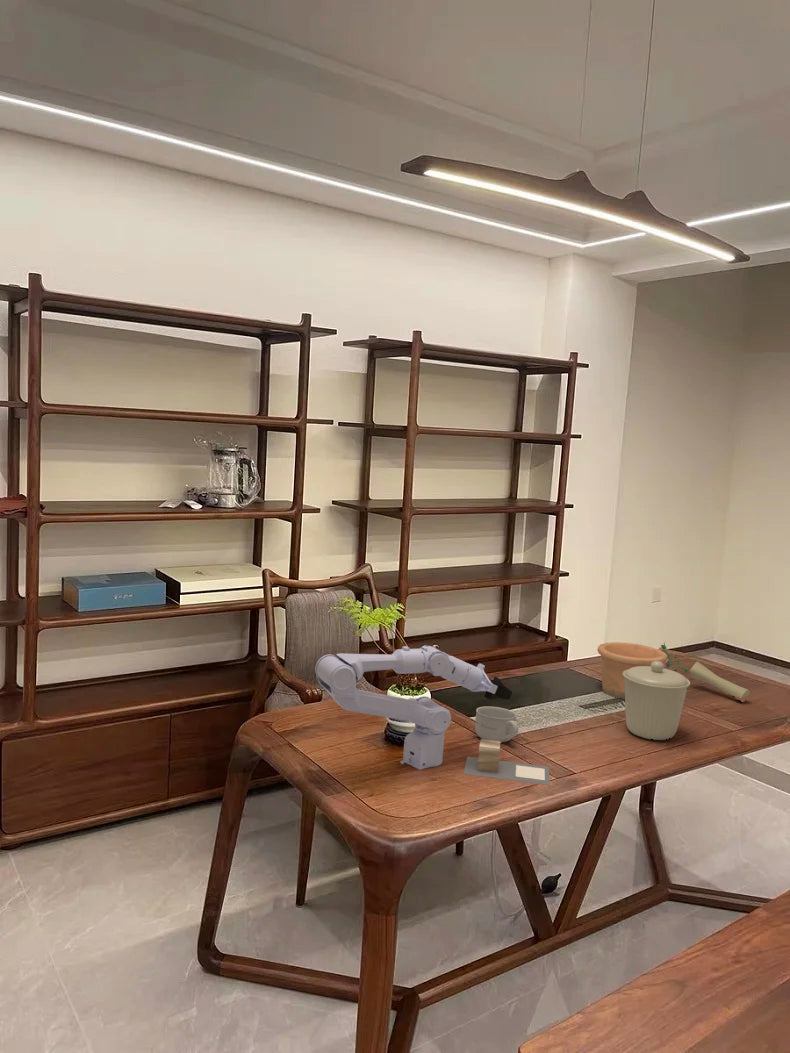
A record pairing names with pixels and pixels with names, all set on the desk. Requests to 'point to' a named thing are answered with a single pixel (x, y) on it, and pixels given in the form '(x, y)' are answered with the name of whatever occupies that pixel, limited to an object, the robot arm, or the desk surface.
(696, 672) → the flower vase
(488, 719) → the teacup
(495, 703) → the desk surface
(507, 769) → the board
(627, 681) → the canister
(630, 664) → the pottery
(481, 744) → the tan u-shaped block
